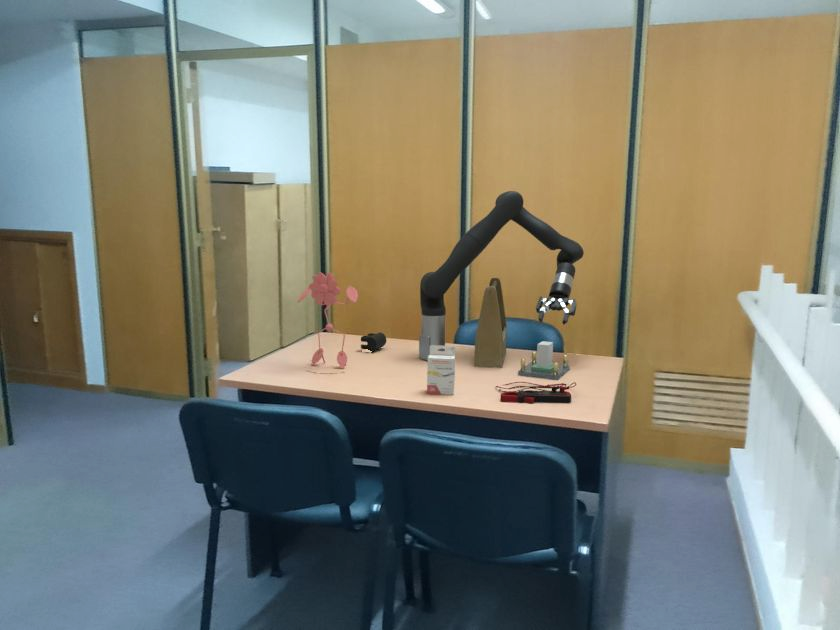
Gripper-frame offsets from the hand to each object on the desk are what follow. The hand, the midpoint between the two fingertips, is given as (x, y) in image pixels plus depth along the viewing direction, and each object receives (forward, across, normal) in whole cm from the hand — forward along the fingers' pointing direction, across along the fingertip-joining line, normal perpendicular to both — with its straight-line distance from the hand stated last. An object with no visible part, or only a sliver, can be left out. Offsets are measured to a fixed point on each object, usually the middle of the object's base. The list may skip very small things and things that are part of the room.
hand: (552, 322), depth 243 cm
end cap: (+16, -72, +8) cm, 74 cm away
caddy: (+10, -24, +14) cm, 30 cm away
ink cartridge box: (+47, -22, -23) cm, 56 cm away
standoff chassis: (+18, 0, +6) cm, 19 cm away
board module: (+17, 0, +5) cm, 17 cm away
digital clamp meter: (+38, +5, -13) cm, 40 cm away
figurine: (+40, -72, -16) cm, 84 cm away
